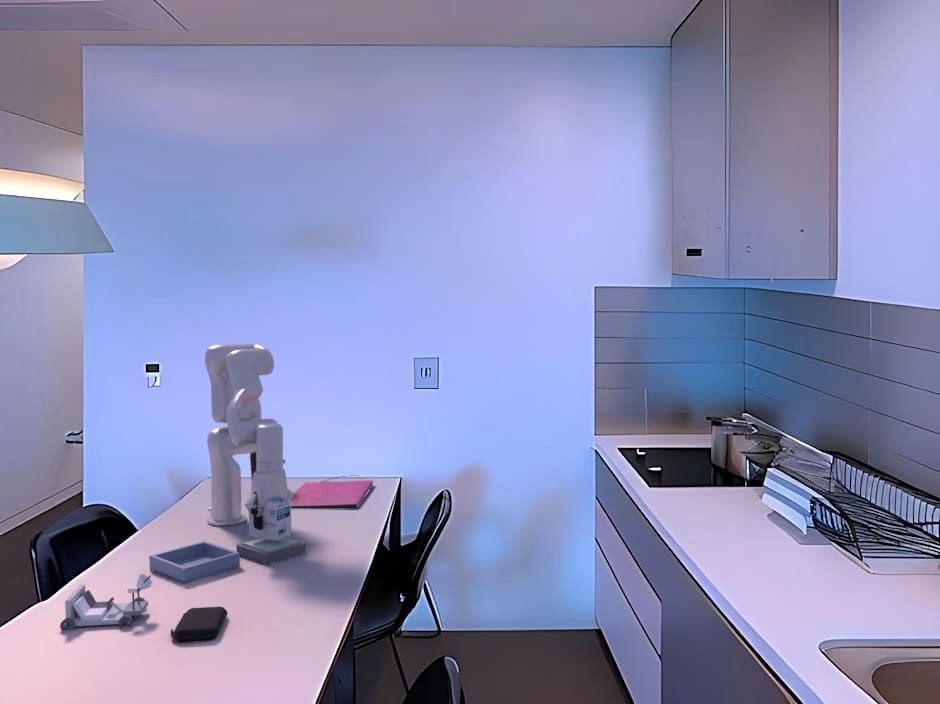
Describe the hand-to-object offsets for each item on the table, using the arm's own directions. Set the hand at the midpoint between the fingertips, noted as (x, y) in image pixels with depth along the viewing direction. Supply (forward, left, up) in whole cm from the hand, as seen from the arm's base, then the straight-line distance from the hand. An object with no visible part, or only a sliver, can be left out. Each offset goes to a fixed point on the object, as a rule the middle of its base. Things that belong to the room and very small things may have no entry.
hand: (270, 525), depth 228 cm
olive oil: (-60, +43, -8) cm, 74 cm away
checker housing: (+1, 0, -8) cm, 8 cm away
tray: (-5, -21, -8) cm, 23 cm away
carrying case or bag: (+31, -43, -9) cm, 54 cm away
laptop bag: (-39, +58, -9) cm, 70 cm away
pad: (+1, 0, -6) cm, 6 cm away
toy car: (+10, -53, -9) cm, 54 cm away
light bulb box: (0, 0, -3) cm, 3 cm away
